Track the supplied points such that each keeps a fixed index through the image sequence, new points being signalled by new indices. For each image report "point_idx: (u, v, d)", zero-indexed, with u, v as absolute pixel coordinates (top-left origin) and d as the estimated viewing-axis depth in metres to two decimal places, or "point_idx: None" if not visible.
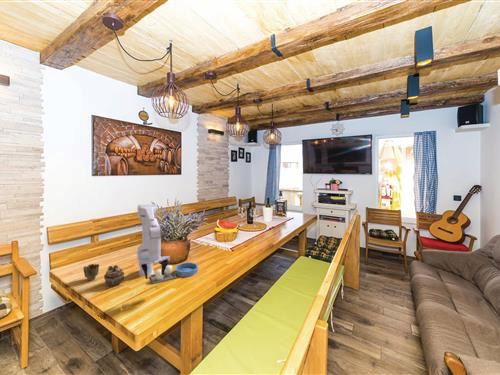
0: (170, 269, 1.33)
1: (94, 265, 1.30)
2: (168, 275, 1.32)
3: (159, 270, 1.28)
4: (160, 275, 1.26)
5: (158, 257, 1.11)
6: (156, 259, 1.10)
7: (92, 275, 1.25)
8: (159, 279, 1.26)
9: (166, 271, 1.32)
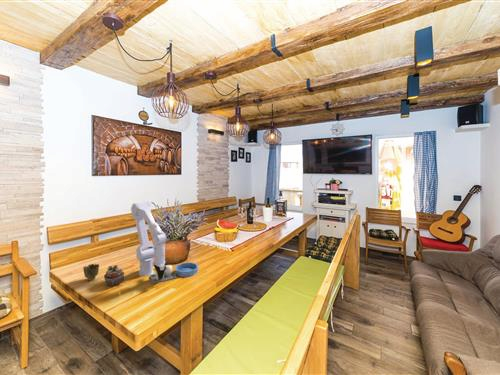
0: (170, 269, 1.33)
1: (94, 265, 1.30)
2: (168, 275, 1.32)
3: None
4: None
5: (155, 261, 1.25)
6: (154, 262, 1.26)
7: (92, 275, 1.25)
8: None
9: (166, 271, 1.32)
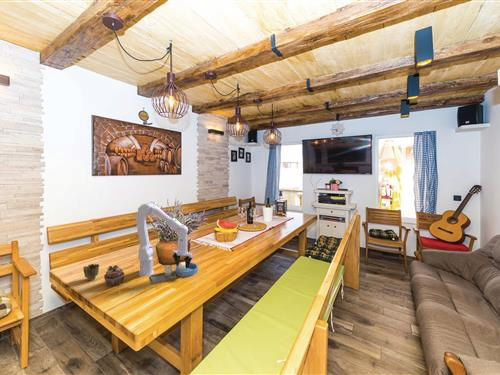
0: (170, 269, 1.33)
1: (94, 265, 1.30)
2: (168, 275, 1.32)
3: (182, 263, 1.38)
4: (185, 267, 1.37)
5: (181, 251, 1.34)
6: (179, 252, 1.35)
7: (92, 275, 1.25)
8: None
9: (166, 271, 1.32)
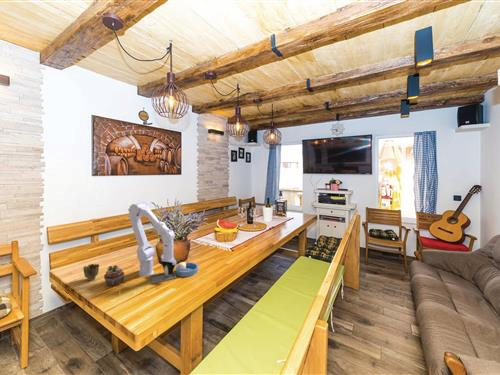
0: None
1: (94, 265, 1.30)
2: (168, 275, 1.32)
3: (182, 263, 1.38)
4: (185, 267, 1.37)
5: (165, 257, 1.31)
6: (164, 258, 1.31)
7: (92, 275, 1.25)
8: None
9: (166, 271, 1.32)
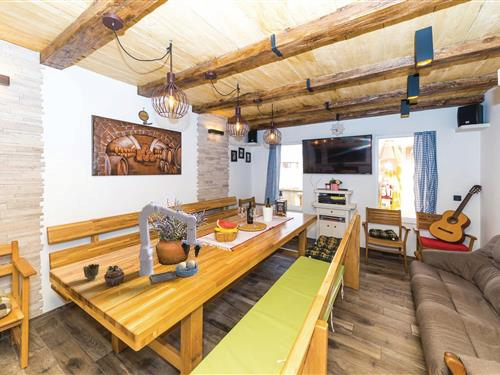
0: (194, 264, 1.41)
1: (94, 265, 1.30)
2: None
3: (182, 263, 1.38)
4: (185, 267, 1.37)
5: (191, 241, 1.37)
6: (189, 242, 1.37)
7: (92, 275, 1.25)
8: None
9: (190, 266, 1.39)
